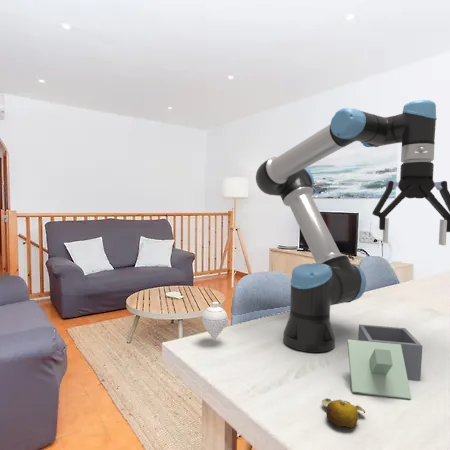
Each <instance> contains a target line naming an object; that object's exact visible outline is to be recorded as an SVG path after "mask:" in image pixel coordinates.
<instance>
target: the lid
mask: <svg viewBox="0 0 450 450" xmlns="http://www.w3.org/2000/svg"><path fill="white" fill-rule="evenodd" d="M347 351H348V352H347V353H348V363H349V373H350V386H351V393H352V394H359V395H367V396H368V395H369V396H378V397H385V398H386V397H387V398H395V399H397V398H398V399H405V400H411V399H412V396H411V389H410V384H409V380H408V378H407V373H406V368H405V363H404V358H403V353H402V347H401V344H391V343H381V342H370V341H359V340H358V339H357V340H356V339H350V338H349V339H347Z"/></svg>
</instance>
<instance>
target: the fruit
mask: <svg viewBox="0 0 450 450" xmlns="http://www.w3.org/2000/svg"><path fill="white" fill-rule="evenodd" d="M321 403H322V406H323V407H326V412H325V415H326V418H327V421H328V422H329V424H330V425H332V426H335V427H340V428H341V427H347V428H348V427H349V428H350V429H352V428H353V427H354V428H355V427H356V426H357V423H358V421H359V411H360V412H362V413H361V414H365V413H366V410H365V409H364V408H363V407H361V406H360V405H354V404H351V402H350V401H347V400H342V399H335V400H331V398H324V399H323V400H321Z"/></svg>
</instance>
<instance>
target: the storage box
mask: <svg viewBox="0 0 450 450" xmlns="http://www.w3.org/2000/svg"><path fill="white" fill-rule="evenodd" d="M357 335H358V336H357V340H359V341H370V342H381V343H391V344H401V347H402V353H403V358H404V363H405V368H406V373H407V378H408V381H417V382H421V375H422V361H423V359H422V358H423V345H422V344H421V342H420V341H418V340H417V338H415V337H414V335H413V334H412V333H411V332H410V331H409V330H408V329H407V328H405V327H394V326H384V325H383V326H382V325H374V324H373V325H371V324H358V334H357Z"/></svg>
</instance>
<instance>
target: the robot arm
mask: <svg viewBox="0 0 450 450" xmlns="http://www.w3.org/2000/svg"><path fill="white" fill-rule="evenodd" d="M436 122H437V105H436V103H435V102H434V101H432V100H429V99H418V100H413V101H409V102H408V103H406V104H404V106H403V108H402V113H399V114H396V115H391V116H386V117H384V116H380V115H377V114H374V113H369V112H366V111H363V110H360V109H357V108H350V107H349V108H348V107H344V108H341V109H339V110H337V111H336V112H335V113H334V116H332V118H331V120H330V123H329V124H328V125H326V126H325V127H323V128H321V129H320V130H319V131H317V132H315V133H314V134H312V135H311V136H309V137H307V138H306V139H305V140H303V141H301V142H300V143H298V144H296V145H295V146H293V147H292V148H290V149H288V150H286V151H284V153H282V154H280V155H278V156H272V157H269V158H267V160H265V161H264V162H262V164H260V166H258V168H257V171H256V174H255V182H256V186H257V187H258V188H259V190H260V191H261V192H263V193H264V194H266V195H269V196H278V197H280V198H281V200H282V203H283V204H284V206H286V207H289V209H291V212H292V214H293V217H294V219H295V221H296V224H297V225H298V227H299V229H300V231H301V234H302V236H303V238H304V240H305V242H306V245H307V246H308V248H309V251H310V253H311V256H312V257H313V260H314V263H304V264H303V263H302V264H298V265H297V266H295V267H294V268H293V269H292V271H291V279H290V307H289V316H288V317H289V318H288V320H287V322H286V326H285V328H284V330H283V334H282V335H283V338H282V339H283V342H284V343H285V345H287V346H289V347H291V348H293V349H295V350H298V351H302V352H306V353H307V352H308V353H325V352H329V351H331V350H333V349H334V348H335V344H336V337H335V334H334V330H333V327H332V323H331V319H330V318H331V317H330V316H331V313H330V312H331V306H334V305H340V304H344V303H346V304H347V303H351V302H353V301H356V300H358V299H360V298H361V297H362V296H363V295H364V293H365V290H366V287H367V277H366V274H365V272H364V271H363V270H362V268H361V267H359V266H357V265H355V264H354V263H353V264H352V262H351V261H350V259H349V257H348V255H347V254H343V253H342V252H340V250H339V248H338V246H337V244H336V241H335V240H334V237H333V236H332V234H331V232H330V230H329V228H328V226H327V224H326V222H325V220H324V219H323V218H324V217H323V216H322V213H321V212H320V210H319V209H318V206H317V204H316V202H315V200H314V199H313V197H312V196H313V194H314V188H315V187H314V182H315V181H314V176H313V174H312V172H311V171H310V170H309V169H308V168H307V167H309V166H312V165H313V164H316V163H317V162H319V161H320V160H322V159H325V158H326V157H328V156H329V155H331V154H333V153H335V152H337V151H339V150H340V149H343V148H345V147H347V146H348V145H351V144H352V143H355V142H360V143H361V144H362V145H363V147H364V148H365V147H366V148H373V147H374V148H378V147H382V146H383V147H384V146H387V145H393V144H394V145H395V144H400V143H401V151H400V152H401V153H400V162H401V165H400V173H399V174H400V176H399V177H400V178H399V181H392V180H389V181H387V183H386V187H385V191H384V192H383V194H381V197H380V199H379V201H378V203H377V204H376V205H375V207H374V209H373V210H372V215H373V216H375V217H378V218H379V220H378V222H379V223H378V228H379V230H380V231H382V243H384V244H388V242H389V225H390V224H389V222H390V221H389V218H388V217H387V216H388V215H389V214H390V213H392V211H393V210H394V209H395V208H396V207H397V206H398V205H399V204H400V203H401V202H402V201H403V200H404V199H406V198H407V199H425V200H427V201H428V202H429V204H430V205H431V206H432V207H433V208H434V209H435V210H436V212H437V213H438V214H439V215H440V216H441V217H442V218H443V219H439V233H438V245H440V246H446V245H447V233H450V192H449V190H448V181H446V180H442V181H437V182H435V181H434V165H435V164H434V163H433V161H434V160H435V143H436V142H435V136H436V126H437V125H436V124H437V123H436ZM396 188H398V189H399V191H400V193H399V194H398V195H397V196H396V197H395V198H394V199H393V200H392V201H391V202H390V204H388V205H387V206H386V207H385V208H384V209H383V210H382V208H383V207H384V206H385V204H386V202H387V200H388V198H389V197H390V195H391V194H392V192H393V191H394V190H395V189H396ZM434 188H435V189H436V190H437V191H439V194H440V195H441V197H442V200H443V201H444V204H445V206H446V208H447V209H448V210H447V209H446V208H445V207H444V205H443V204H442V203H441V202H440V200H438V198H437V197H436V196H435V194H433V192H431V191H432V190H433V189H434ZM381 211H382V212H381Z"/></svg>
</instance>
